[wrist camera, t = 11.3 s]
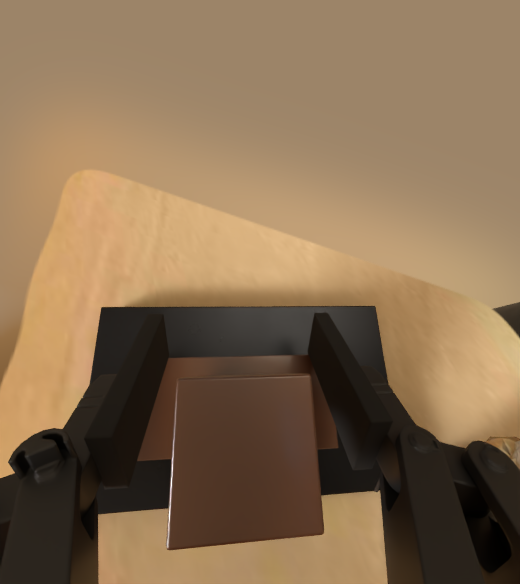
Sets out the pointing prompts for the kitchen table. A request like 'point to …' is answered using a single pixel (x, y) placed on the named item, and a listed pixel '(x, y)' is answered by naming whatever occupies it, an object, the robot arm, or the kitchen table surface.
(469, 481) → the robot arm
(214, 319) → the panel
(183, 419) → the brown block
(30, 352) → the kitchen table surface
